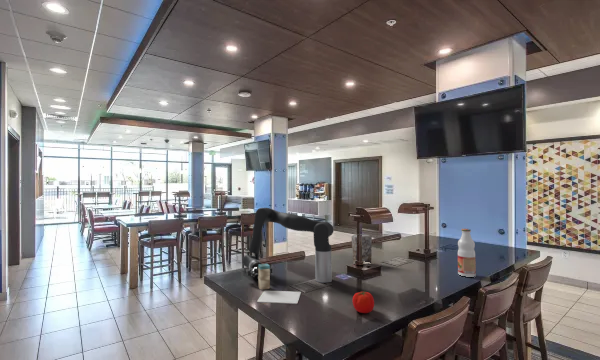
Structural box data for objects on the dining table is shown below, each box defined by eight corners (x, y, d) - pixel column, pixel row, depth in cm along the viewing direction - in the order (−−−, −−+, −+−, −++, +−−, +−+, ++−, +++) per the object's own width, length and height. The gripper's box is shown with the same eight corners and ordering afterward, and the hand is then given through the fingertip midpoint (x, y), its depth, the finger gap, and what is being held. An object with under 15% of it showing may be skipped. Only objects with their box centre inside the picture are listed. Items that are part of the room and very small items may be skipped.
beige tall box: (267, 285, 166) (267, 263, 166) (269, 288, 161) (269, 265, 162) (258, 286, 164) (258, 264, 164) (260, 289, 160) (260, 266, 160)
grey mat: (301, 292, 155) (301, 291, 155) (297, 303, 140) (297, 303, 140) (264, 291, 157) (264, 290, 157) (256, 302, 142) (256, 301, 142)
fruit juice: (471, 279, 176) (471, 230, 177) (455, 275, 183) (454, 229, 184) (478, 276, 182) (477, 229, 183) (462, 272, 189) (461, 227, 190)
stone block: (357, 266, 206) (357, 236, 206) (351, 264, 212) (350, 235, 212) (372, 264, 211) (372, 235, 212) (366, 261, 218) (366, 233, 218)
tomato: (371, 306, 136) (371, 288, 136) (377, 316, 126) (377, 296, 126) (350, 307, 136) (350, 288, 136) (355, 317, 126) (355, 296, 126)
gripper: (244, 261, 180) (249, 268, 165) (267, 259, 185) (274, 266, 169) (244, 274, 180) (249, 282, 164) (267, 272, 184) (274, 279, 169)
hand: (262, 274), depth 167 cm, fingers open, 8 cm apart
